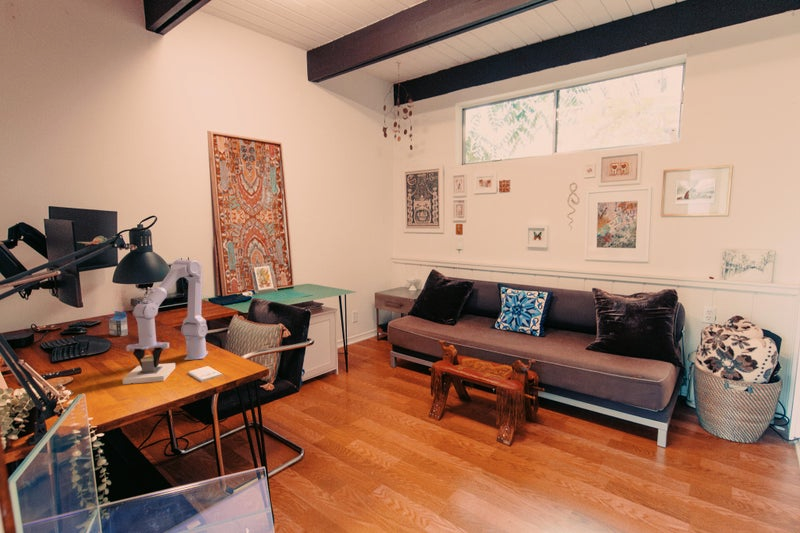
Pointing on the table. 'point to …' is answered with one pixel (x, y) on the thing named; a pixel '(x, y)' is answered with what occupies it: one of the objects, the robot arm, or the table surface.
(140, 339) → the robot arm
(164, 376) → the socket
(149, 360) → the plug
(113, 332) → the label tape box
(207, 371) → the external hard drive
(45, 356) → the table surface
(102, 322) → the table surface
